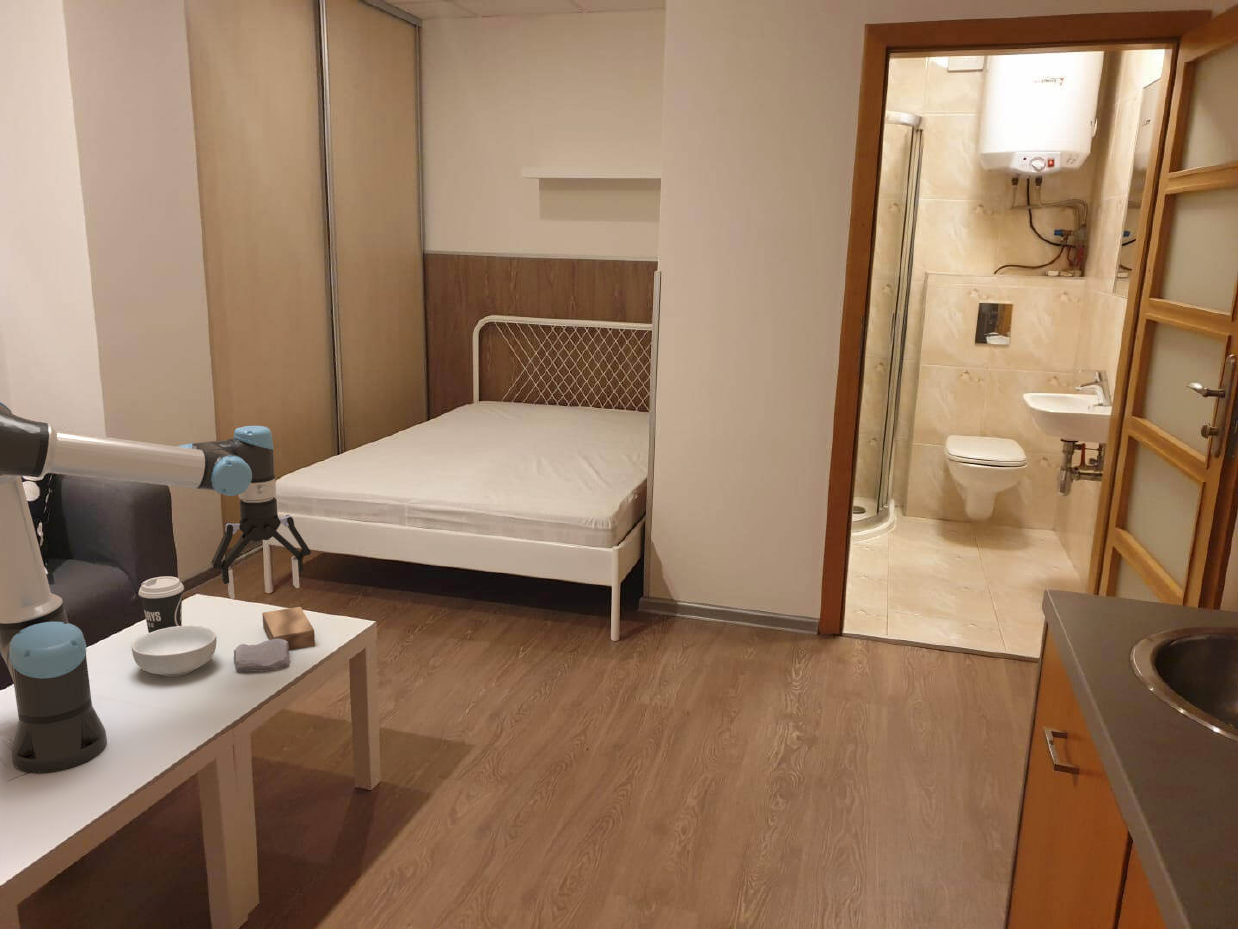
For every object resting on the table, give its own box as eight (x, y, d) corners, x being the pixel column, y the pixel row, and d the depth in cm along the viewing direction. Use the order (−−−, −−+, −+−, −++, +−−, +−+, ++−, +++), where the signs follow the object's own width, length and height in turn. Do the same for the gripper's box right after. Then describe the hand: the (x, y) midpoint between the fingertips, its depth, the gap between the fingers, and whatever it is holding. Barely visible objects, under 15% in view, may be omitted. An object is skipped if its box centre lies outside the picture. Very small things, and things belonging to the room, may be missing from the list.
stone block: (292, 675, 213) (289, 650, 222) (290, 658, 211) (287, 632, 220) (235, 685, 209) (234, 659, 217) (233, 667, 207) (231, 641, 215)
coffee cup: (156, 633, 229) (151, 574, 226) (195, 635, 229) (190, 575, 225) (135, 650, 220) (129, 588, 216) (176, 651, 219) (170, 590, 216)
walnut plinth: (274, 653, 220) (273, 636, 219) (263, 628, 234) (262, 612, 233) (315, 645, 224) (314, 630, 223) (301, 621, 238) (300, 606, 237)
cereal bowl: (233, 656, 218) (230, 627, 216) (191, 689, 202) (188, 658, 200) (164, 650, 220) (161, 621, 219) (117, 682, 204) (114, 651, 203)
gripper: (197, 510, 195) (206, 607, 200) (321, 495, 208) (326, 587, 213) (192, 501, 202) (200, 595, 206) (312, 487, 214) (317, 576, 219)
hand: (264, 591), depth 210 cm, fingers open, 13 cm apart
